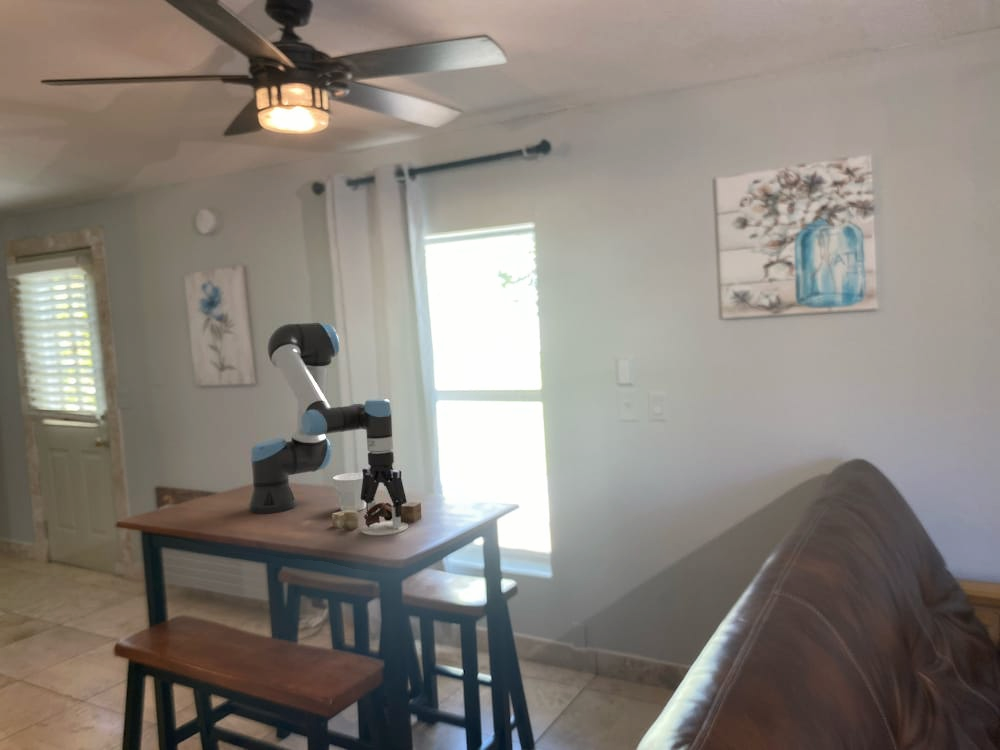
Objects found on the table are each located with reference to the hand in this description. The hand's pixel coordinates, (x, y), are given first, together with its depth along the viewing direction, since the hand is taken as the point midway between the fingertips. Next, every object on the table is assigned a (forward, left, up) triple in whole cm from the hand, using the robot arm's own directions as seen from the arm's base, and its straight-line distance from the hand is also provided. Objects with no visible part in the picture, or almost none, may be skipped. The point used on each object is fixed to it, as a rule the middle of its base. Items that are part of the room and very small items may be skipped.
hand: (384, 525), depth 218 cm
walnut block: (0, +12, -1) cm, 12 cm away
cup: (-28, +14, -1) cm, 31 cm away
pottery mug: (-1, 0, -1) cm, 1 cm away
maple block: (-15, -2, -1) cm, 15 cm away
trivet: (0, 0, -1) cm, 1 cm away
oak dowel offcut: (-10, -4, -1) cm, 11 cm away
